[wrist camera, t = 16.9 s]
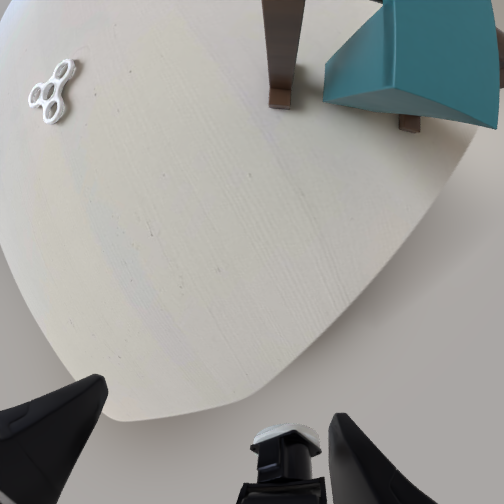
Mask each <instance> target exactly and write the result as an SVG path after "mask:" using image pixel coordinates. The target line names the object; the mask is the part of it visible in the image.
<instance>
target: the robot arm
mask: <svg viewBox="0 0 504 504" xmlns="http://www.w3.org/2000/svg"><path fill="white" fill-rule="evenodd" d="M107 396H108V388H107V384H106V381H105V378H104V377H103V376H101V375H98V374H92V375H90V376H88V377H86V378H83V379H81V380H79V381H77V382H74V383H72V384H70V385H67V386H65V387H63V388H60V389H58V390H56V391H53V392H51V393H49V394H46V395H44V396H41V397H39V398H36V399H34V400H31V401H30V402H26V403H24V404H21V405H18V406H15V407H13V408H9V409H6V410H2V411H0V504H56V503H57V501H58V499H59V497H60V495H61V492H62V490H63V488H64V485H65V484H66V482H67V479H68V477H69V476H70V473H71V471H72V469H73V467H74V465H75V463H76V461H77V459H78V457H79V456H80V454H81V452H82V450H83V448H84V446H85V444H86V442H87V440H88V438H89V436H90V435H91V433H92V431H93V429H94V427H95V425H96V423H97V421H98V418H99V416H100V414H101V411H102V409H103V406H104V404H105V401H106V399H107ZM250 450H252V451H253V452H254V453H256V454H257V455H258V464H257V470H258V477H257V483H253V484H252V483H243V487H242V488H241V490H240V493H239V497H238V500H237V503H236V504H327V498H326V488H325V479H324V477H320V478H316V479H312V466H311V457H314V456H316V455H319V454H320V453H321V452H322V451H321V449H320V448H319V447H318V446H316V445H315V444H314V443H312V442H311V441H310V440H308V439H307V438H306V437H305V436H303V435H302V434H301V433H300V432H298V431H297V430H290V431H288V432H285V433H283V434H280V435H278V436H275V437H273V438H270V439H267V440H264V441H262V442H259V443H256V444H253V445H251V446H250ZM329 470H330V478H331V485H332V494H333V503H334V504H437V503H436V502H435V501H434V500H432V499H431V498H430V497H428V496H427V495H425V494H424V493H423V492H422V491H420V490H419V489H418V488H417V487H416V486H414V485H413V484H412V483H411V482H410V481H409V480H408V479H406V477H405V476H404V475H402V474H401V473H400V471H399V470H396V467H395V466H394V465H393V464H392V463H391V462H390V461H389V460H388V459H387V458H386V457H385V456H384V454H383V453H382V452H381V451H380V450H379V449H378V448H377V447H376V446H375V445H374V444H373V442H372V441H371V440H370V439H369V438H368V437H367V436H366V435H365V434H364V433H363V431H362V430H361V429H360V428H359V427H358V426H357V425H356V424H355V422H354V421H353V420H352V419H351V418H350V417H349V416H348V415H347V414H346V413H335V415H334V416H333V419H332V421H331V423H330V426H329Z"/></svg>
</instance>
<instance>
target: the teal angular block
mask: <svg viewBox="0 0 504 504" xmlns="http://www.w3.org/2000/svg"><path fill="white" fill-rule="evenodd" d="M499 91H500V71H499V51H498V43H497V34H496V26H495V20H494V14H493V8H492V3H491V0H383V6H382V7H381V8H380V9H379V10H378V11H377V12H376V13H375V14H374V15H373V16H372V17H371V18H370V19H369V20H368V21H367V22H366V23H365V24H364V25H363V26H362V27H361V28H360V29H359V30H358V31H357V32H356V33H355V34H354V35H353V36H352V37H351V38H350V39H349V40H348V41H347V42H346V43H345V44H344V45H343V46H342V47H341V48H340V49H339V50H338V51H337V52H336V53H335V54H334V55H333V56H332V57H331V58H330V59H329V61H328V62H327V63H326V64H325V78H324V91H323V102H325V103H331V104H337V105H343V106H349V107H354V108H359V109H363V110H368V111H373V112H382V113H396V114H407V115H417V116H425V117H433V118H440V119H447V120H453V121H458V122H464V123H469V124H474V125H478V126H483V127H487V128H492V129H495V130H496V129H497V124H498V112H499Z"/></svg>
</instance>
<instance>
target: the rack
mask: <svg viewBox="0 0 504 504" xmlns="http://www.w3.org/2000/svg"><path fill="white" fill-rule="evenodd" d="M371 1H374V2H378V3H381V4H383V0H371ZM304 7H305V0H262V9H263V19H264V28H265V39H266V49H267V60H268V72H269V84H270V91H269V108H279V109H290V104H291V89H292V83H293V77H294V71H295V64H296V58H297V52H298V46H299V39H300V33H301V26H302V20H303V13H304ZM496 34H497V43H498V51H499V71H500V89H501V88H504V32H502V31H501V30H500V29H498V28H497V27H496ZM420 117H421V116H417V115H407V114H399V129H400V130H404V131H408V132H411V133H418V132H420Z"/></svg>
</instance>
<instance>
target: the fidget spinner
mask: <svg viewBox="0 0 504 504" xmlns="http://www.w3.org/2000/svg"><path fill="white" fill-rule="evenodd" d="M67 64H68V70H67V72H66V74H65V75H64V76H63V77H62V78H61V79H59V74H60V71H61V69H62V68H63V67H64V66H65V65H67ZM74 68H75V63H74V61H73V60H72V59H65V60H63V61H61V62H60V63H59V64H58V66H57V67H56V69H55V71H54V73H53V75H52V76H51V78H50V79H49V80H48V81H47V82H45V83H38V84H36V85H35V86H34V88H33V89H32V91H31V93H30V95H29V100H28V103H29V106H30V107H31V108H37V107H39V106H40V105H42V107H43V119H44V122H45V123H47V124H54V123H56V122H57V121H58V120H59V118H60V117H61V115H62V113H63V109H64V101H63V99H62V97H61V92H62V88H63V86H64V84H65V83H66V82H67V81H68V80H69V78H70V77H71V75H72V74H73V71H74ZM53 85H54V92H53V94H52V96H51V97H50V98H49V99H47V94H48V91H49V89H50V88H51V87H52V86H53ZM40 88H41V93H40V96H39V98H38V100H37V101H36V102H34V97H35V94H36V92H37V91H38V90H39V89H40ZM55 102H57V111H56V113H55V115H54V116H53V117H52V118H51V119H50V116H49V112H50V109H51V107H52V105H53V104H54V103H55Z"/></svg>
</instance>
